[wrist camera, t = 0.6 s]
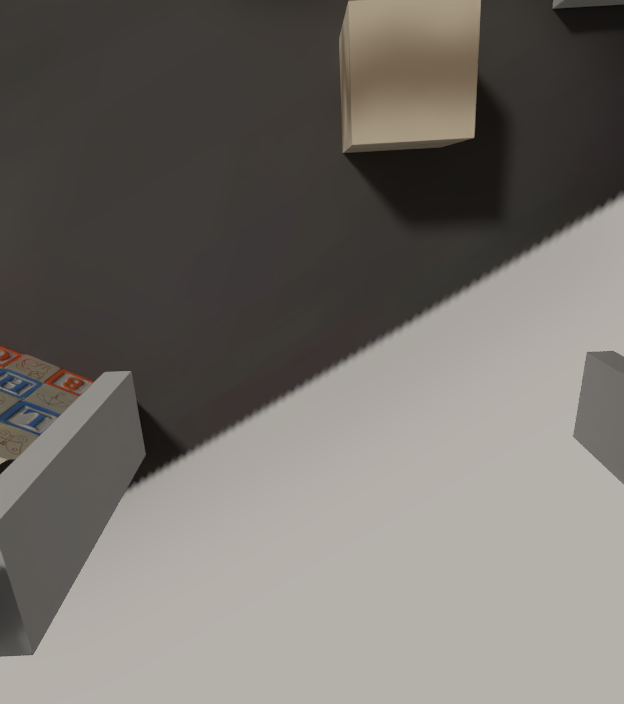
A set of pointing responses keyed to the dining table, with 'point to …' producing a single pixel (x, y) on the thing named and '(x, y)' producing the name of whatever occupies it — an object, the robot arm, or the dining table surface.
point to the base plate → (584, 3)
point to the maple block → (408, 73)
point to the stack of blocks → (32, 399)
